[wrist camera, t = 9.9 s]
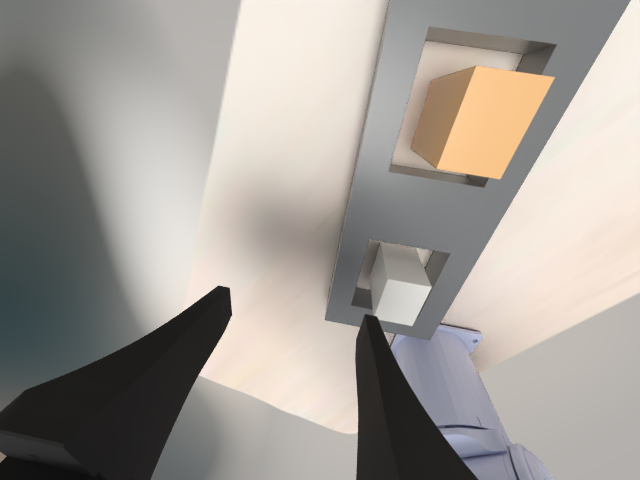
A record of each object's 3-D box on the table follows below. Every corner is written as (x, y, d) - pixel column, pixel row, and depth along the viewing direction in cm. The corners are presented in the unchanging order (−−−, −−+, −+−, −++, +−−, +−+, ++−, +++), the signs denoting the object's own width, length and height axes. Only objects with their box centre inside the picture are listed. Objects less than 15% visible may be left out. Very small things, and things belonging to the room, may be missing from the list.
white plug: (401, 283, 22) (412, 326, 18) (369, 277, 22) (373, 318, 18) (415, 248, 20) (431, 287, 16) (380, 242, 20) (387, 279, 16)
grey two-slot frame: (423, 319, 24) (429, 340, 22) (327, 301, 24) (324, 320, 22) (593, -3, 12) (646, -27, 10) (395, -29, 12) (403, -57, 10)
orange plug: (453, 155, 16) (500, 179, 11) (410, 148, 16) (436, 168, 11) (481, 87, 14) (555, 77, 9) (432, 79, 14) (476, 65, 9)
